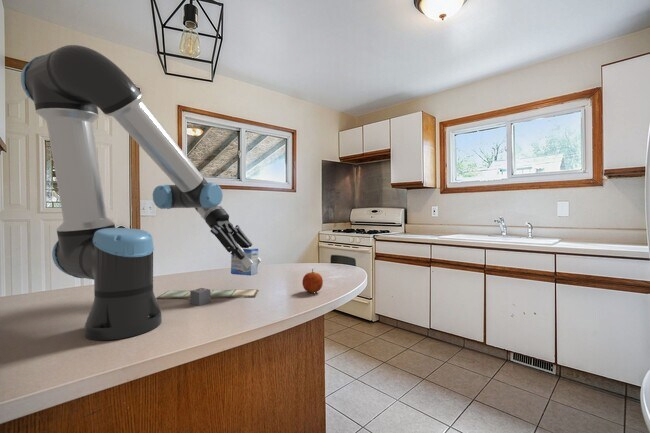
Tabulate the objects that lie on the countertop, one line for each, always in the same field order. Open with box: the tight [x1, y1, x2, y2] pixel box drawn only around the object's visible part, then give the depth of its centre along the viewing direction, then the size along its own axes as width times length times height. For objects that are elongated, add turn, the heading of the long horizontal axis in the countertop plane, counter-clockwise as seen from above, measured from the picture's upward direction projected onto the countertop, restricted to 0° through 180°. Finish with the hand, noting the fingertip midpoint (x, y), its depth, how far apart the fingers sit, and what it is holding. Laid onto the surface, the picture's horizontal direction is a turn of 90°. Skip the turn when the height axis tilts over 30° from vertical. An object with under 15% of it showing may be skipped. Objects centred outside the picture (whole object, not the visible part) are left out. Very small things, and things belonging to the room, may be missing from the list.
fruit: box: [301, 268, 324, 294], centre depth 102 cm, size 7×7×8 cm
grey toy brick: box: [189, 287, 212, 307], centre depth 91 cm, size 4×4×4 cm
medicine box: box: [230, 247, 259, 276], centre depth 101 cm, size 8×4×9 cm, turn 72°
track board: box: [155, 288, 260, 300], centre depth 100 cm, size 31×9×1 cm, turn 94°
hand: (254, 264), depth 100 cm, fingers closed on medicine box, 4 cm apart
